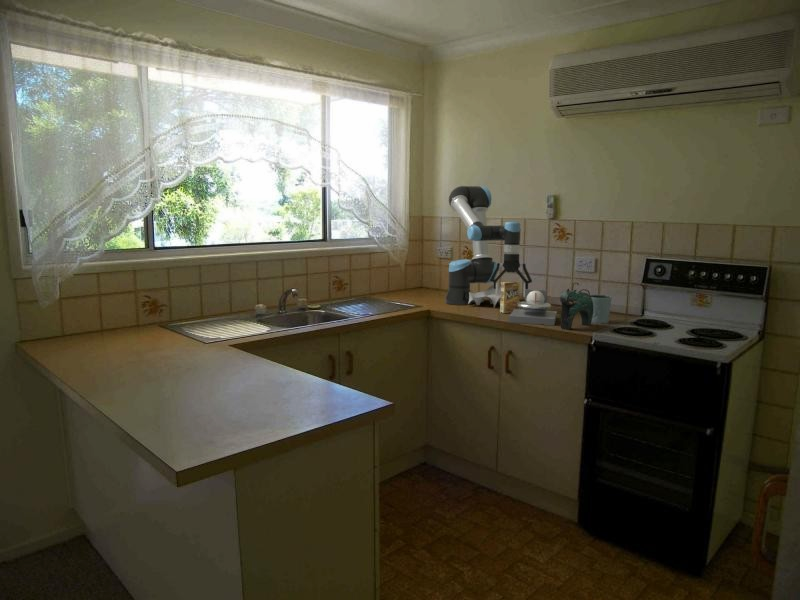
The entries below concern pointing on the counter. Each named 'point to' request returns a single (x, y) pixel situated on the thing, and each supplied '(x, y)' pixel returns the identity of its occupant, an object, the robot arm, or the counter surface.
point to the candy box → (509, 296)
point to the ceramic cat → (575, 307)
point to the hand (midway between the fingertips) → (510, 296)
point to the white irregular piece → (488, 293)
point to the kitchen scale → (534, 310)
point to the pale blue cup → (601, 308)
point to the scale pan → (533, 305)
